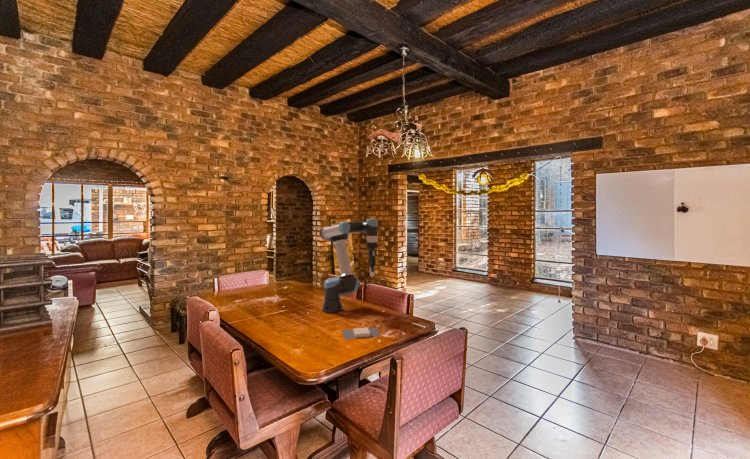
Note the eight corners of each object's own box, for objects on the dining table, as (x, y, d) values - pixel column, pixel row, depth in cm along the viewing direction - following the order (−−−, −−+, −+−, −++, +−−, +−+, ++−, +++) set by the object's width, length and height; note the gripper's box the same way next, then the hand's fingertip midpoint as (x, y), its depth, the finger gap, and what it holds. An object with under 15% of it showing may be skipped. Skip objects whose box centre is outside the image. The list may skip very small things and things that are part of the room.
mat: (341, 331, 207) (341, 330, 207) (376, 328, 212) (376, 327, 211) (344, 340, 193) (344, 339, 193) (381, 337, 198) (381, 336, 198)
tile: (352, 328, 204) (355, 334, 195) (367, 327, 206) (370, 333, 197) (352, 332, 204) (355, 337, 195) (367, 330, 206) (370, 336, 197)
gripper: (364, 240, 232) (364, 274, 234) (368, 243, 219) (368, 278, 221) (375, 240, 233) (375, 274, 235) (379, 242, 221) (379, 278, 222)
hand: (372, 276), depth 228 cm, fingers closed
